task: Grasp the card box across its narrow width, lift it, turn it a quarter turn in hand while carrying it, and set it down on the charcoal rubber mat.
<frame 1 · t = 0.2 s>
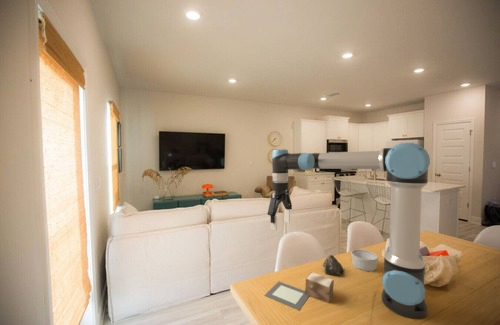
hand: (280, 225, 106), 27 cm above the table, fingers open, 13 cm apart
mat: (287, 295, 96), on the table
ramekin: (364, 267, 120), on the table
dark grey rock: (333, 273, 114), on the table
card box: (318, 294, 96), on the table, touching mat
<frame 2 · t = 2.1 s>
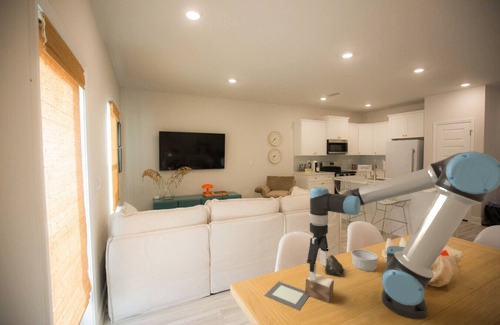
hand: (318, 271, 96), 10 cm above the table, fingers open, 13 cm apart
nothing on the table moved.
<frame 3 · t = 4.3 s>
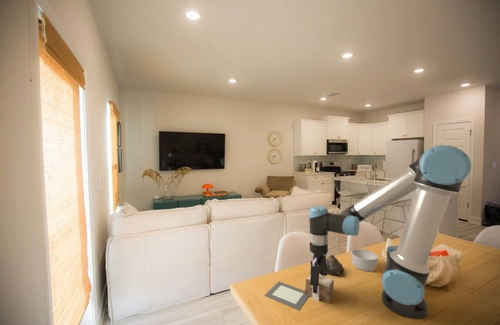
hand: (319, 294, 96), 0 cm above the table, fingers open, 7 cm apart
card box: (318, 294, 96), on the table, touching gripper, mat
everything else where it was.
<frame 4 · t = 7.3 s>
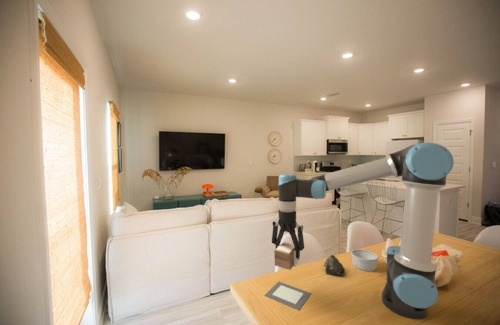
hand: (287, 262, 95), 15 cm above the table, fingers closed on card box, 7 cm apart
card box: (287, 262, 95), point 15 cm above the table, touching gripper
everything else where it was.
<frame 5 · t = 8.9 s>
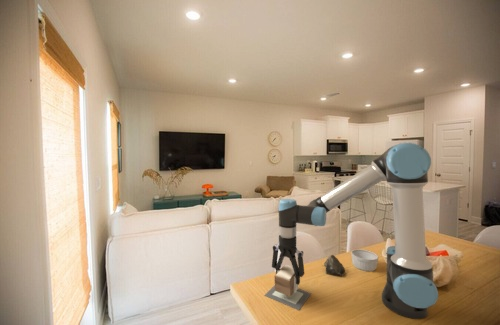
hand: (287, 287, 96), 4 cm above the table, fingers closed on card box, 7 cm apart
card box: (287, 286, 96), point 4 cm above the table, touching gripper
everything else where it was.
when the fingers open (1 cm above the table, at t = 9.9 s): card box stays where it is, resting on mat.
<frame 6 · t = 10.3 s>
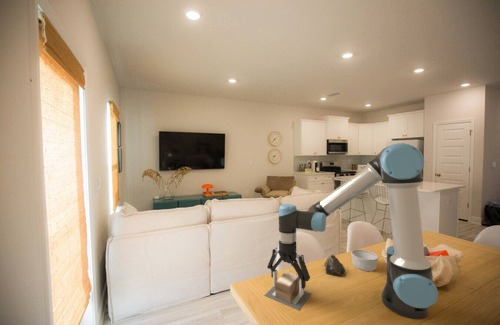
hand: (287, 289, 96), 3 cm above the table, fingers open, 12 cm apart
card box: (288, 293, 96), point 1 cm above the table, touching mat
everything else where it was.
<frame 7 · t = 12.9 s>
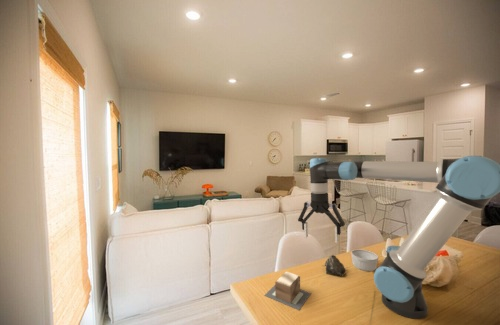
hand: (321, 239, 99), 23 cm above the table, fingers open, 13 cm apart
nothing on the table moved.
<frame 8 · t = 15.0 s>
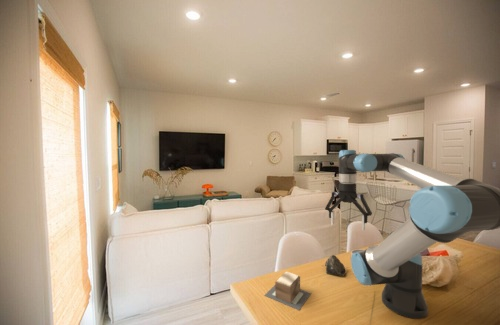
hand: (347, 227, 104), 27 cm above the table, fingers open, 13 cm apart
nothing on the table moved.
at the end: card box inside the target area on the mat (0.1 cm from its centre), point 0.7 cm above the mat's base; card box tilted 0°; the gripper is holding nothing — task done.
